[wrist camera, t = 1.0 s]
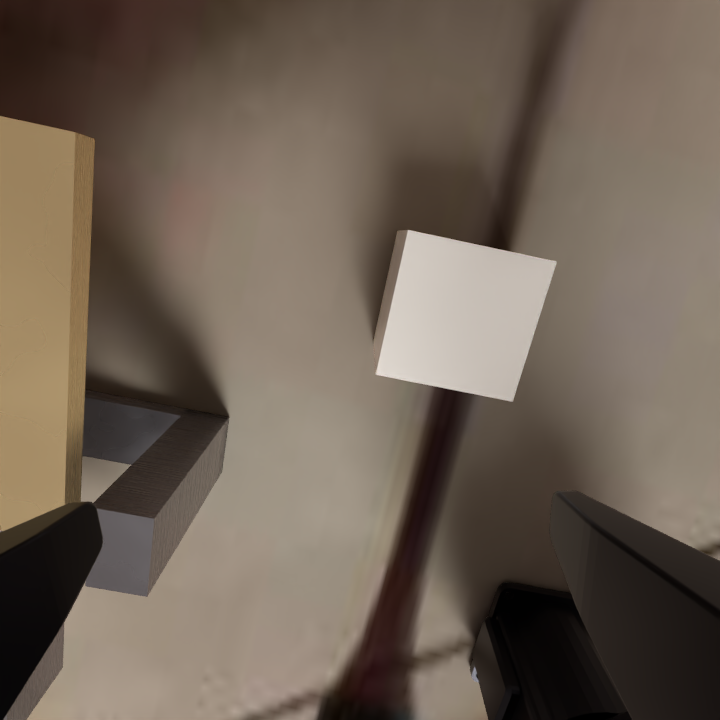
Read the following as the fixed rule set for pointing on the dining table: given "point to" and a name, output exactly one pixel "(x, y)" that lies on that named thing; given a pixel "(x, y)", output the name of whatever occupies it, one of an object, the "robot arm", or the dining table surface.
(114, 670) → the dining table surface
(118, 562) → the frame
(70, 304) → the trapdoor
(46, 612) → the robot arm
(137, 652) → the dining table surface
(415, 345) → the cube
